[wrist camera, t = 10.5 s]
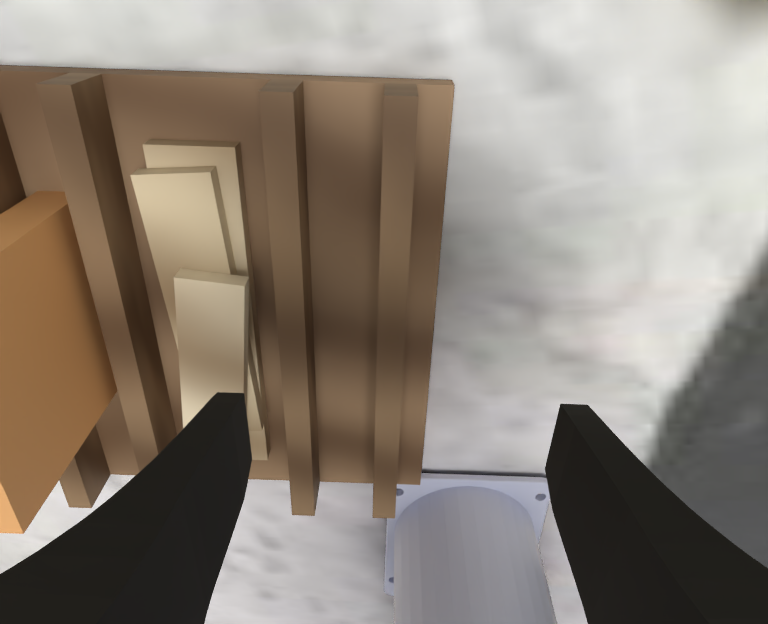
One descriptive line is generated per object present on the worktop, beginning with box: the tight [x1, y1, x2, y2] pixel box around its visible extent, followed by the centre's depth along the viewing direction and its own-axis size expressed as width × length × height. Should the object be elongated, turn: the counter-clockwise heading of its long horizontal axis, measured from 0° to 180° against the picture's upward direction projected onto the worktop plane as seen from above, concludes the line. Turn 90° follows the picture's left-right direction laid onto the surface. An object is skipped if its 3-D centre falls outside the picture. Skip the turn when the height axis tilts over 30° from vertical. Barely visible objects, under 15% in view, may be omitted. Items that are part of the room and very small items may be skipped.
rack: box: [0, 65, 455, 518], centre depth 22 cm, size 18×16×3 cm
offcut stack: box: [130, 139, 271, 460], centre depth 22 cm, size 14×4×2 cm, turn 178°
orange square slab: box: [0, 191, 118, 534], centre depth 19 cm, size 8×2×8 cm, turn 178°
